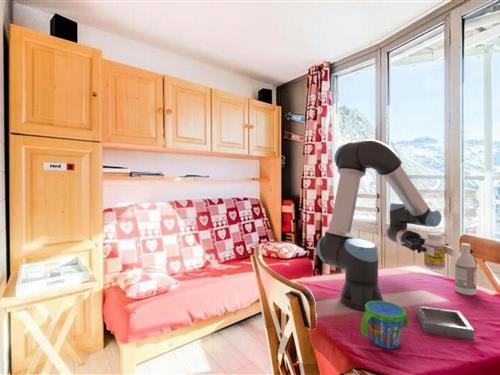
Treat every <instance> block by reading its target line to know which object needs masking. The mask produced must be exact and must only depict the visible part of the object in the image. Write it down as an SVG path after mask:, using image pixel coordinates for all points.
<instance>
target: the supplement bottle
mask: <svg viewBox="0 0 500 375" xmlns="http://www.w3.org/2000/svg"><path fill="white" fill-rule="evenodd" d="M426 237H427V240H425V242H424V245H426V246H428V247H431V248H434V256H431V255H428V254H426V253H424V252H423V254H424V255H423V256H424V257H423V260H424V261H423V263H424V264H423V265H424V267H426V268H429V269H433V270H444V269H445V267H446V253H445V243H446V242H445V241H443V240H442V238H443V235H442V233H437V232H428V233H427V235H426Z"/></svg>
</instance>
